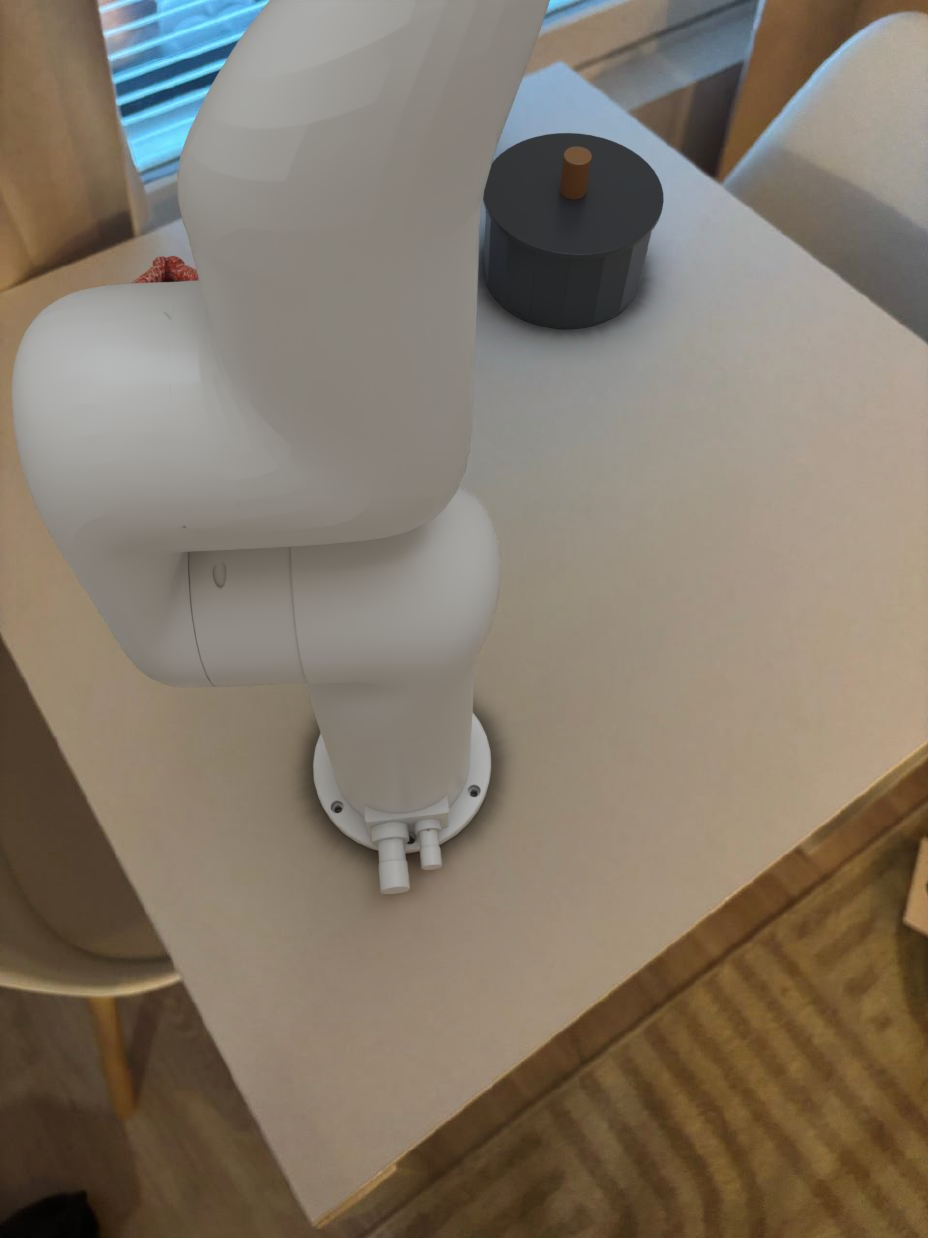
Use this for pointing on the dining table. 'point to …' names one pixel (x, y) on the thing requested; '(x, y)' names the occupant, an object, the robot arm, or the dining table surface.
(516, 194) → the pan lid
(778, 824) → the dining table surface
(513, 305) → the pot
